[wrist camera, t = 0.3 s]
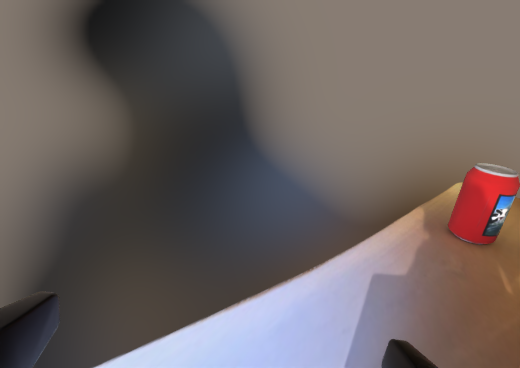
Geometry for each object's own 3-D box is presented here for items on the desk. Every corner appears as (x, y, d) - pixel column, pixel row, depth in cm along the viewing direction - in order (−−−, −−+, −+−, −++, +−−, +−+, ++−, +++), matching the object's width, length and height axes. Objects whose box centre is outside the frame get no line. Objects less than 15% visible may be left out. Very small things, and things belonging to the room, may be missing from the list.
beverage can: (497, 252, 45) (531, 180, 40) (447, 238, 47) (473, 169, 43) (489, 233, 50) (517, 167, 46) (444, 222, 53) (467, 159, 49)
